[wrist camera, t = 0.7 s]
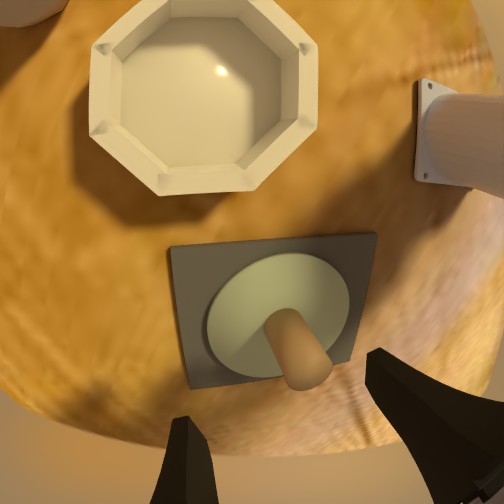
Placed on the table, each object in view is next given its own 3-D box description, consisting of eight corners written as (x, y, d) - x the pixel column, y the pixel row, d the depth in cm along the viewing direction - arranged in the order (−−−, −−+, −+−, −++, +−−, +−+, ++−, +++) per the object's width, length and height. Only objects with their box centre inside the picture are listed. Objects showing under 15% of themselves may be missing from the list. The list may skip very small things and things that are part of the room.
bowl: (294, 14, 13) (316, -4, 10) (291, 179, 17) (314, 189, 14) (111, 14, 11) (99, -8, 8) (109, 189, 15) (94, 202, 12)
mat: (374, 232, 20) (377, 234, 20) (347, 358, 25) (349, 361, 25) (170, 246, 17) (170, 248, 17) (189, 386, 22) (190, 389, 21)
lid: (355, 246, 20) (405, 283, 15) (333, 359, 24) (363, 404, 19) (201, 258, 18) (212, 311, 13) (211, 380, 22) (224, 438, 17)
